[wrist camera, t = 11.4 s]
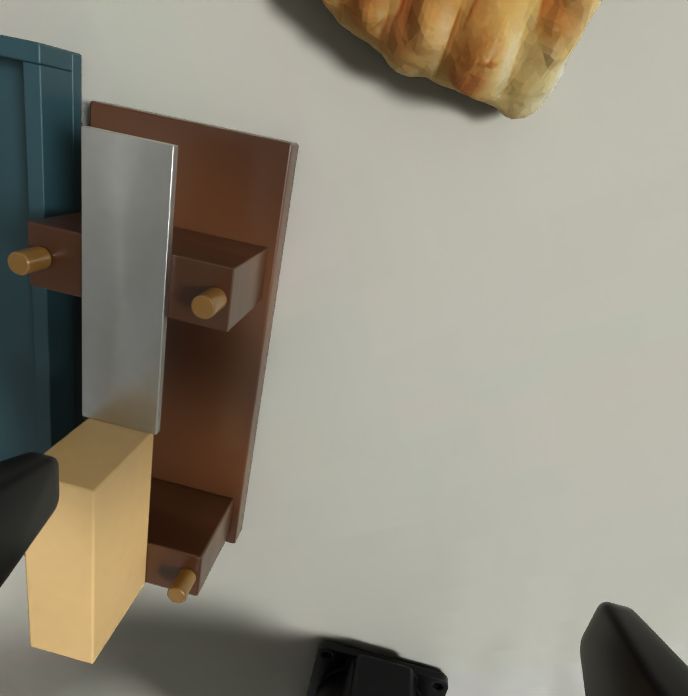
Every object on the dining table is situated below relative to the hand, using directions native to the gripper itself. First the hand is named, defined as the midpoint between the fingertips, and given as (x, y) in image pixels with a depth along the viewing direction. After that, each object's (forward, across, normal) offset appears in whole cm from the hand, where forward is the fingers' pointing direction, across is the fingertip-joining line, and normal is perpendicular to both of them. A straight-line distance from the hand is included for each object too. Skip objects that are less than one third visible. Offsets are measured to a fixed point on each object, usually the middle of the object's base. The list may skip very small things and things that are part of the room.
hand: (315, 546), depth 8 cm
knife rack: (+12, +8, +3) cm, 14 cm away
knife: (+8, +8, +3) cm, 11 cm away
